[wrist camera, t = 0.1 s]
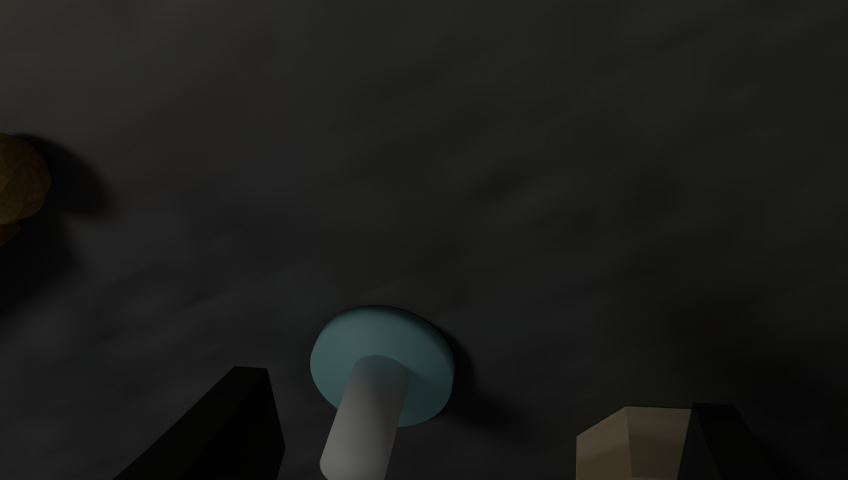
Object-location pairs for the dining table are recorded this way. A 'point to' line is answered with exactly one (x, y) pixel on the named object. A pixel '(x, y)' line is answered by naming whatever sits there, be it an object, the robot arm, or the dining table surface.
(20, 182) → the wooden baluster
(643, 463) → the ring
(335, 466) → the toy mushroom
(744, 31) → the dining table surface
